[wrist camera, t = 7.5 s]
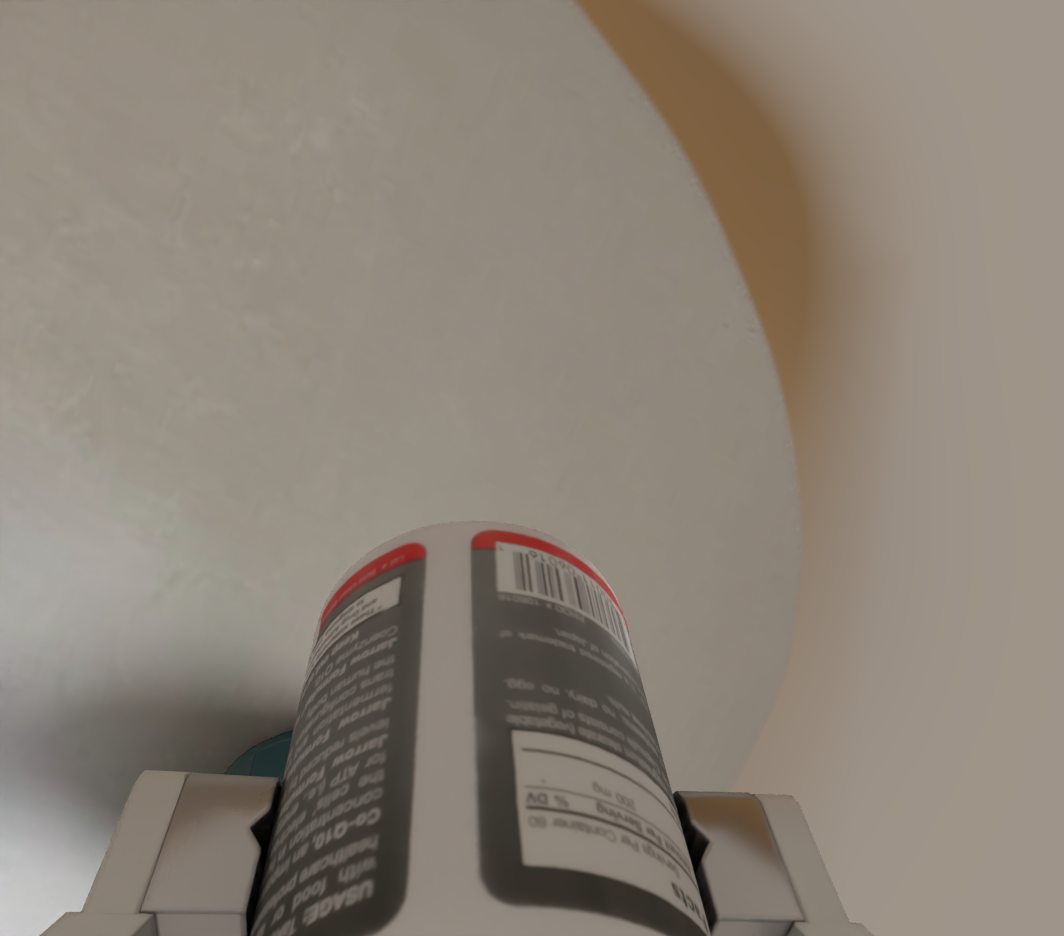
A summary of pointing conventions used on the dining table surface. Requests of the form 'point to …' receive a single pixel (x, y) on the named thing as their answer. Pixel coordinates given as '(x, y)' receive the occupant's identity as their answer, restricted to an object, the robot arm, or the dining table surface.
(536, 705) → the pill bottle
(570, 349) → the dining table surface
